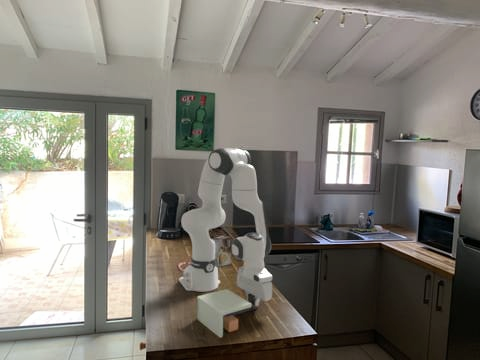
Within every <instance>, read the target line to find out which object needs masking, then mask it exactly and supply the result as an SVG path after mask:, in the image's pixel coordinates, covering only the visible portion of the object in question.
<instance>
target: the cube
mask: <svg viewBox="0 0 480 360" xmlns="http://www.w3.org/2000/svg"><path fill="white" fill-rule="evenodd" d="M223 330H225V331H226V332H228V333H231V332H234V331H237V330H239V318H237V317H236V316H235V315H234V316H233V315H231V316H228V317H224V321H223Z"/></svg>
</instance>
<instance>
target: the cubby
mask: <svg viewBox="0 0 480 360" xmlns="http://www.w3.org/2000/svg"><path fill="white" fill-rule="evenodd" d="M249 307H252V304H251V303H250V302H248V301H247V299H244V298H243V297H242V296H239V295H237V294H236V293H235V292H233V291H231V290H229V289H227V288H225V289H222V290H218V291H217V290H216V291H214V292H209V293H206V294H202V295H198V296H197V297H196V320H198V321H199V323H201V324H202V325H204V327H207V329H209V331H211V332H212V333H214V334H215V335H216V336H217V337H218V338H220V339H221V338H223V336H224V328H223V322H224V321H223V315H226V314H229V313H233V312H236V311H239V310H243V309H246V308H249Z"/></svg>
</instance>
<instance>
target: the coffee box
mask: <svg viewBox="0 0 480 360" xmlns="http://www.w3.org/2000/svg"><path fill="white" fill-rule="evenodd" d="M212 239H213V240H214V242H215V258H216V267H217V268H219V267H224V266H228V265H231V264H232V252H231V244H232V237H231V236H228V235H220V236H213V237H212Z"/></svg>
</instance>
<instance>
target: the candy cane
mask: <svg viewBox="0 0 480 360" xmlns="http://www.w3.org/2000/svg"><path fill="white" fill-rule="evenodd" d="M190 263H191V262H185V261H183V262H181V263H179V264H178V265H177V269H178V270H179V271H180V272H181V273H184V270H185V269H183V268H182V267H181V266H182V265H188V266H189V265H190Z"/></svg>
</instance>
